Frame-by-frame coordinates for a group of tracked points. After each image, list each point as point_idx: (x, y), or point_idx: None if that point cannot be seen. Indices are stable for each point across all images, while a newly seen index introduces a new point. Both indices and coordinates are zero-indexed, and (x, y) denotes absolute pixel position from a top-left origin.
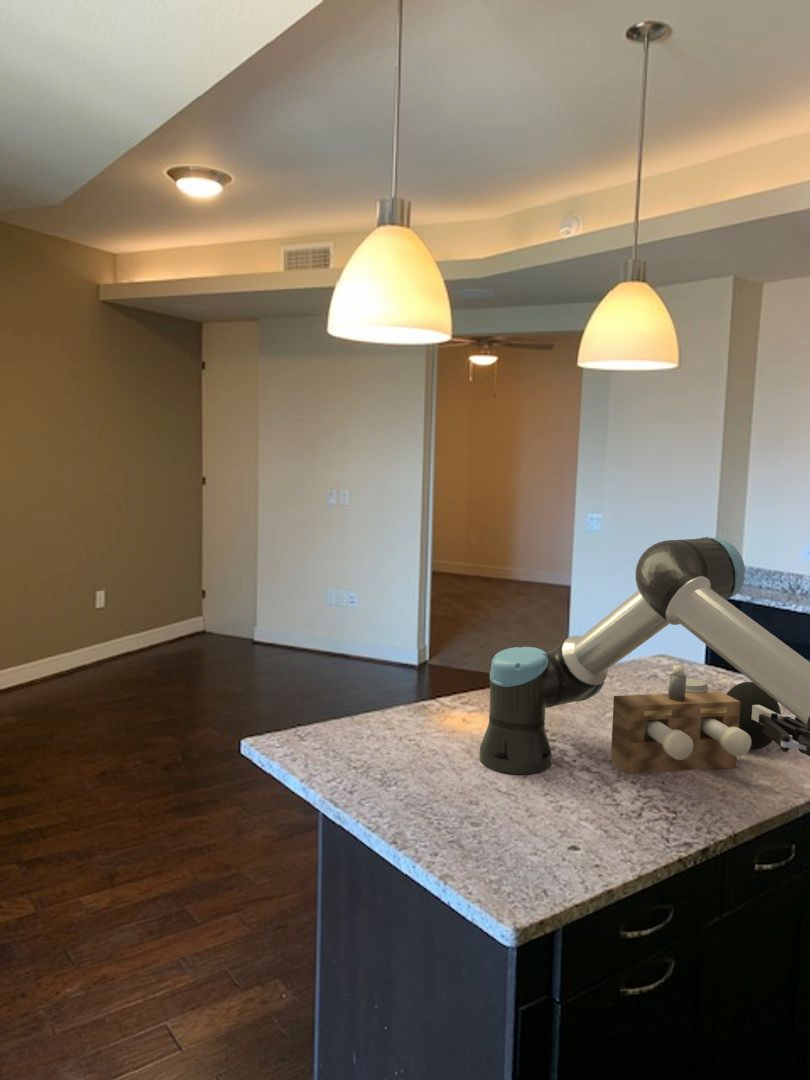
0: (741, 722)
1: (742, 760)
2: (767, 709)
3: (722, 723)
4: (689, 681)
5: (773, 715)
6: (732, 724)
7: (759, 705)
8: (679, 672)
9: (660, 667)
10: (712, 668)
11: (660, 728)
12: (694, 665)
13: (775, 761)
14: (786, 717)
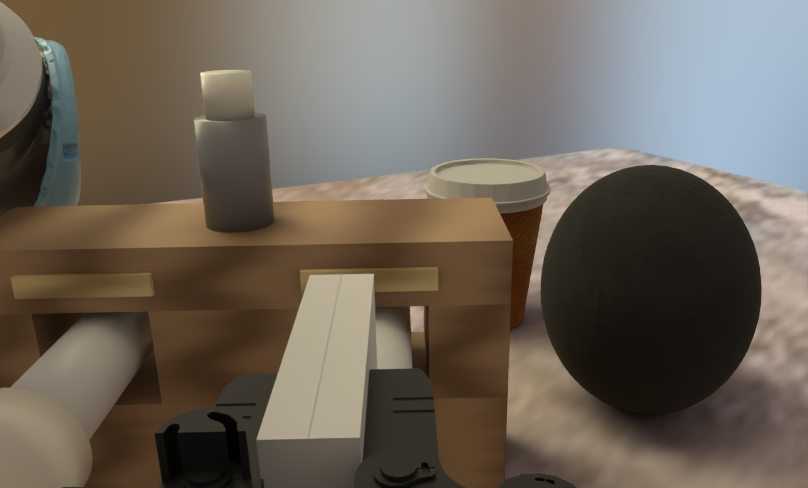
0: (580, 320)
1: (564, 467)
2: (352, 326)
3: (385, 344)
4: (496, 173)
5: (181, 447)
6: (475, 342)
7: (362, 280)
8: (213, 99)
9: (594, 165)
10: (707, 167)
11: (35, 363)
12: (672, 162)
13: (702, 482)
14: (382, 475)
